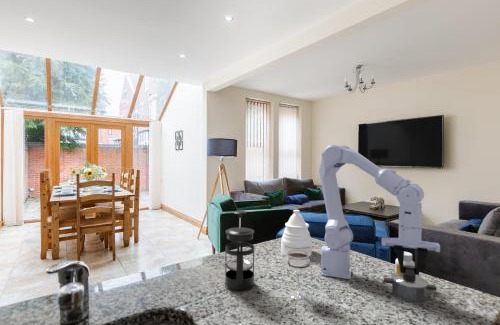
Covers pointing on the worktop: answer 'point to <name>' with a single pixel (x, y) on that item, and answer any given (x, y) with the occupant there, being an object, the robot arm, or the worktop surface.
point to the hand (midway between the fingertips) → (409, 272)
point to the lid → (409, 278)
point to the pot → (409, 292)
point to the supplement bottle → (404, 262)
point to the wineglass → (298, 268)
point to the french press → (239, 258)
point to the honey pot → (296, 235)
